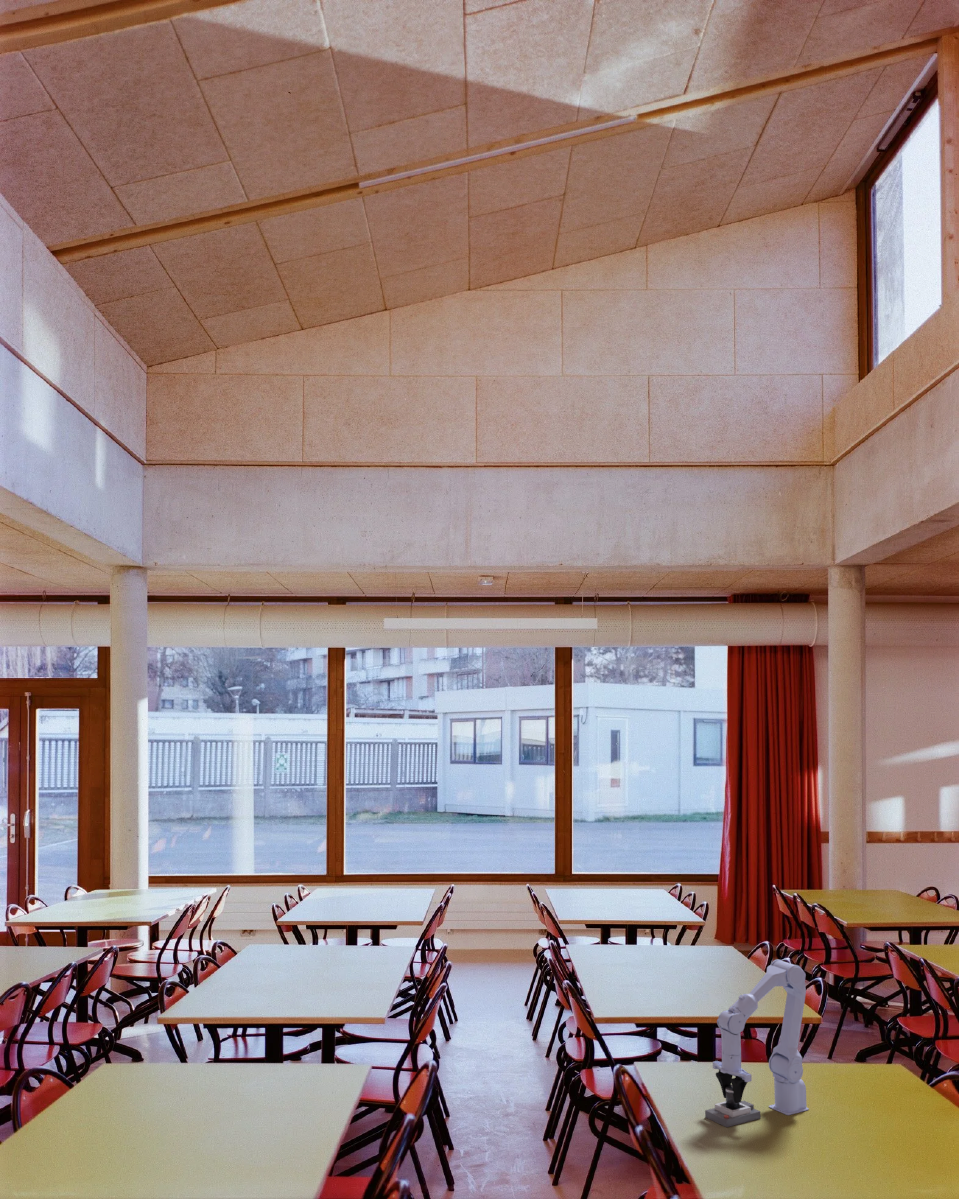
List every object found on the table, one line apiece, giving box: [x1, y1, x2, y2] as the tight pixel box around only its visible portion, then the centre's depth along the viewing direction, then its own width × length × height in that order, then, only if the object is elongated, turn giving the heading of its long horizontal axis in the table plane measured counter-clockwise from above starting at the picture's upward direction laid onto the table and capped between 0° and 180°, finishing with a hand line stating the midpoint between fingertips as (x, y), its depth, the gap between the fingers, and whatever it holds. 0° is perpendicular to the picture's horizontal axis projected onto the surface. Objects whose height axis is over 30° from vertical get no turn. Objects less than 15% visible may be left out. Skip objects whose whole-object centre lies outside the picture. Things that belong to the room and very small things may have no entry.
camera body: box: [704, 1100, 761, 1128], centre depth 308 cm, size 14×9×4 cm, turn 120°
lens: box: [725, 1084, 740, 1110], centre depth 308 cm, size 4×4×6 cm
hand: (732, 1099), depth 308 cm, fingers closed on lens, 4 cm apart
